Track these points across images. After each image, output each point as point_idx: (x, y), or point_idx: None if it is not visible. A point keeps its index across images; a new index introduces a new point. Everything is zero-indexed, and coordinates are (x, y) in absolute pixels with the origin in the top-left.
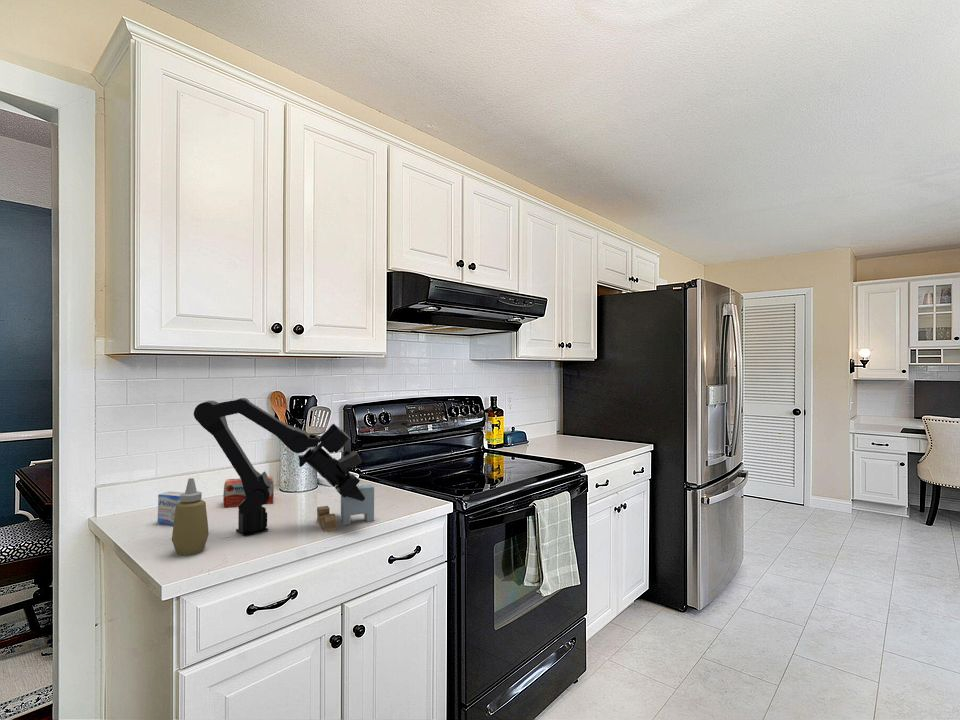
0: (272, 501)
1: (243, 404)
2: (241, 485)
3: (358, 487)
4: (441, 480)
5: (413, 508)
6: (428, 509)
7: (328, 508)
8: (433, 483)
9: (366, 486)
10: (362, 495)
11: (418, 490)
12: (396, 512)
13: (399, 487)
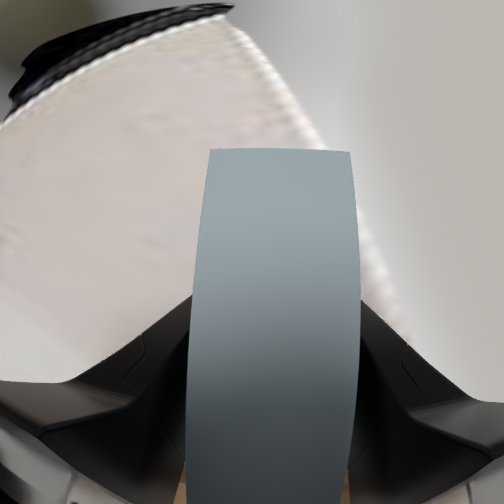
0: None
1: None
2: None
3: (285, 332)
4: (59, 38)
5: (215, 81)
6: (255, 55)
7: None
8: (60, 46)
9: (279, 217)
10: (367, 311)
11: (70, 66)
12: (229, 134)
13: (20, 105)
